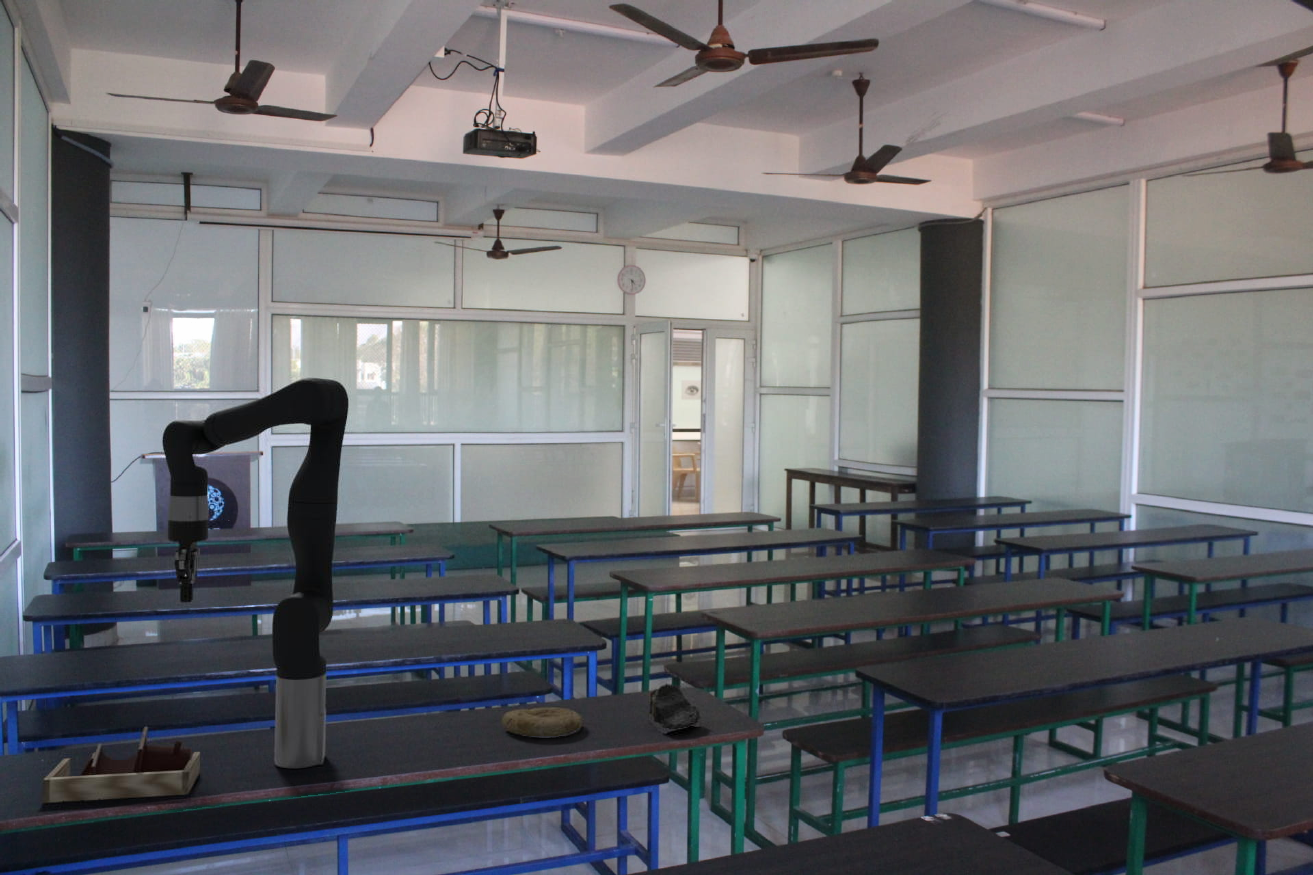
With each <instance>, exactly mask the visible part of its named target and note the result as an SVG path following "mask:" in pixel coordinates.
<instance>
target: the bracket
mask: <svg viewBox="0 0 1313 875" xmlns="http://www.w3.org/2000/svg"><path fill="white" fill-rule="evenodd" d="M148 732H149V727H148V726H144V727H143V730H142V734H141V738H140V741H139V746H138V750H137V751H136V753H135V754H134V755H132V756H131V757H129V758H126V759H113V758H111V757H109V756H107V755H106V754H105V753H104V752H103V748H102V747H103V744H102V743H98V744H97V747H96V750H95V752H93V753H92V754H91V755H90V756H89V757H88V760H87V761H86V763H85V764H84V766H83V767H82V770H81V774H80V776H89V775H107V774H126V773H144V772H163V771H181V770H184V768H185V767H186V765H187V763H188V762H189V760H190V758H191V756H192V755H191V754H192V748H186V747H182V744H183V740H175V741H174V743H173V746H165V745H154V744H147V740H148Z"/></svg>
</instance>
